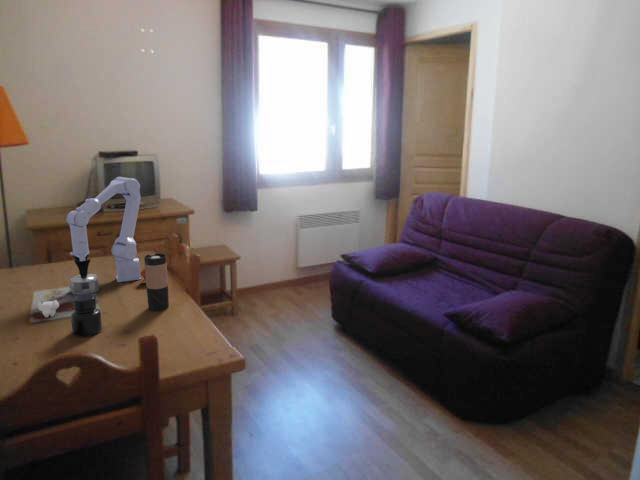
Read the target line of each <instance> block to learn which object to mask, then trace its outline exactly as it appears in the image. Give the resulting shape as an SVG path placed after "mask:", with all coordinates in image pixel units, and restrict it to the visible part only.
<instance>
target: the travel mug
mask: <svg viewBox="0 0 640 480" xmlns="http://www.w3.org/2000/svg"><path fill="white" fill-rule="evenodd" d="M143 259H144V268H145V274H146V280H145V285H146V295H147V296H146V297H147V304H148V305H147V306H148V309H149V311H152V312H162V311H165V310H168V309H169V304H170V303H169V299H170V298H169V282H168V281H169V280H168V268H167V267H168V266H167V256H166V254H164V253H155V254H152V255H151V254H145V256H144V258H143Z"/></svg>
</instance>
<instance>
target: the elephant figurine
mask: <svg viewBox="0 0 640 480" xmlns="http://www.w3.org/2000/svg"><path fill="white" fill-rule="evenodd" d="M59 307H60V303H59V301H58V300H57V299H54V300H51V301H43V303H42V302H41V301H38V304H37V310H39V311H41V312H42V313H41V314H42V315H43V316H44V317H45V318H49V316H50V317H51V318H52V317H55V314H56V311H57V310H58V309H59Z"/></svg>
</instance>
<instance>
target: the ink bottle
mask: <svg viewBox="0 0 640 480" xmlns="http://www.w3.org/2000/svg"><path fill="white" fill-rule="evenodd" d="M96 297H97V296H96V295H95V294H94V293H93V294H83V295H75V296H74V297H73V298H72V305H73V310H74V311H73V312H72V313H71V316H70V319H71V320H70V321H71V329H72V333H73V335H75V336H77V337H90V336H93V335H95V334H99V333H100V332H101V331H102V330H103V323H102V312H101V310H100V309H99V308H97V298H96Z"/></svg>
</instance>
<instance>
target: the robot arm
mask: <svg viewBox="0 0 640 480" xmlns="http://www.w3.org/2000/svg"><path fill="white" fill-rule="evenodd" d="M140 188H141V184H140V183H139V181H138V179H136V178H133V177H124V176H117V177H115V178H114V179H113V180H111V181H110V182H109V185H107V186H106V187H104V189H103V190H102V191H101V192H100V193H99V194H98V195H97V196H96V197H95V198H92V197H91V198H86V199H85V200H84V201H85V202H83V204H81V205H80V206H77V207H76V208H75V210H71V211H69V212H68V214H67V217H66V218H65V221H66V223H67V224H68V225H69V229H70V236H71V245H72V246H71V247H72V251H71V252H69V255H70V256H72V257H73V258H74V260H73V261H74V264H75V265H76V267H77V268H78V273H79V272H80V275H81V277H86V276H87V274H89V273H88V271H89V265H90V262H91V259H90V258H89V259H88V257H89V256H90V255H89V254H90V250H89V249H90V248H89V240H88V239H89V238H88V232H87V231H88V230H87V229H88V228H87V225H88V223H89V222H90V219H91V218H92V217H93V216H94V215H96V213H98V212H99V211H100V210H101V208H102V205H103V204H104V203H106V201H108V200H110V199H111V198H112V197H114V196H116V195H117V194H121V195H122V196H123V198H124V199H125V201H126V202H125V206H124V207H125V208H124V213H123V218H122V223H121V228H120V233H119V236H118V237H117V238H116V239H115V241H114V244H113V245H112V246H111V249H110V250H111V254H112V255H113V256H114V258H115V265H116V266H115V267H116V275H115V279H116V282H117V283H123V282H131V281H136V280H137V281H140V280H142V276H141V264H140V260H139V258H138V257H136V256H137V253H138V252H137V242H136V241H135V239H134V235H135V230H136V224H137V220H138V215H139V209H140V204H141V198H142V197H141V191H140Z"/></svg>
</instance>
